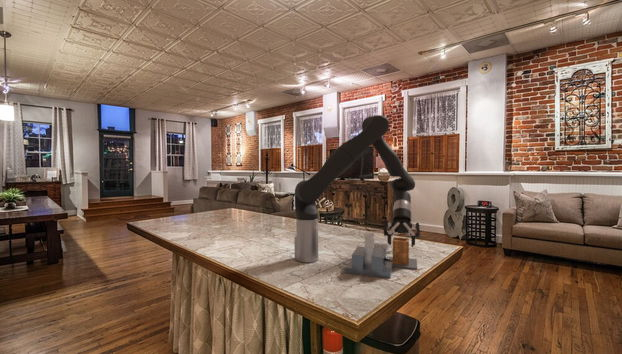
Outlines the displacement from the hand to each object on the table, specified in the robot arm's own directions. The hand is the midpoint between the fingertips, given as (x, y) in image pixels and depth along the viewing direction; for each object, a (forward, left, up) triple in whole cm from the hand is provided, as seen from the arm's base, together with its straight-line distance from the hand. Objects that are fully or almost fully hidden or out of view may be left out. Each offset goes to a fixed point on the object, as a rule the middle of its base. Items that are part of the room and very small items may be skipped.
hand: (401, 244), depth 116 cm
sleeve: (0, 0, -7) cm, 7 cm away
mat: (0, 0, -7) cm, 7 cm away
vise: (-8, -14, -7) cm, 18 cm away
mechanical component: (-13, +13, -8) cm, 20 cm away
